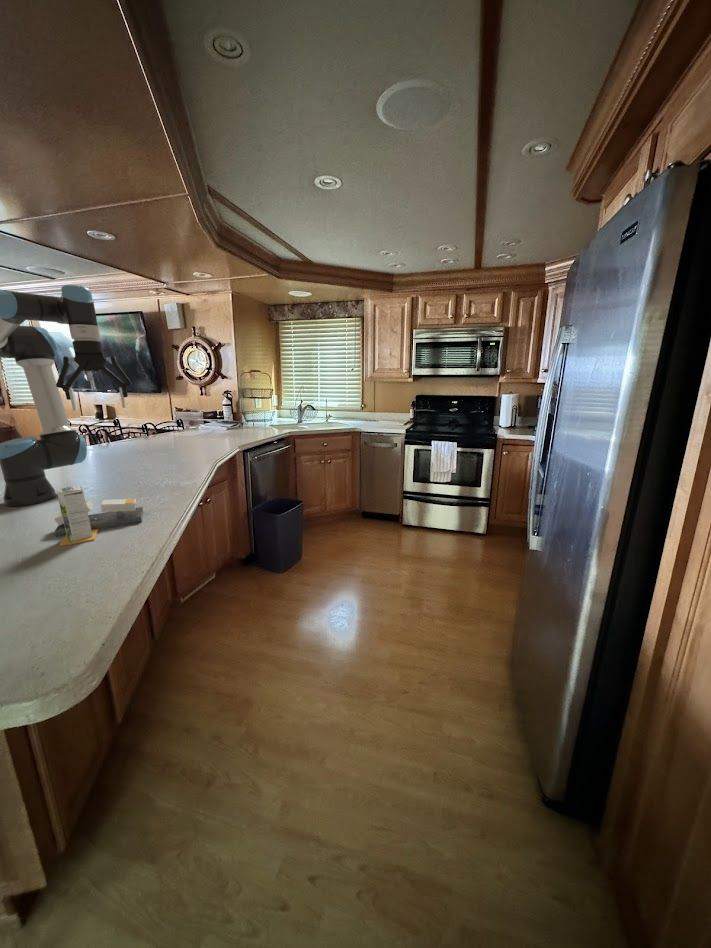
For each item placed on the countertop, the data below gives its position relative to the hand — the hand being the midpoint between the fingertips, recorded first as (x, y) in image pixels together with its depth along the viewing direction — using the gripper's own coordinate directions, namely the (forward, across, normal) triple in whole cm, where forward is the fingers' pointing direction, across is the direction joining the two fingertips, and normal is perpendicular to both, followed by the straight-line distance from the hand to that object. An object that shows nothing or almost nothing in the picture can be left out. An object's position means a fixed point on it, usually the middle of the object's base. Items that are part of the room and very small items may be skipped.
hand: (100, 408), depth 123 cm
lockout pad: (+35, -8, -24) cm, 43 cm away
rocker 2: (+31, +2, -14) cm, 34 cm away
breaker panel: (+35, -4, -14) cm, 38 cm away
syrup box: (+34, -8, -23) cm, 42 cm away
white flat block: (+31, -10, -14) cm, 35 cm away
